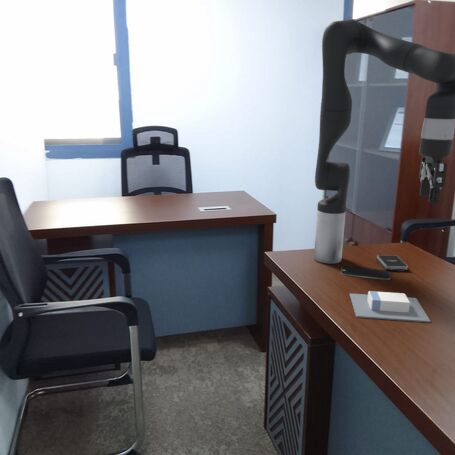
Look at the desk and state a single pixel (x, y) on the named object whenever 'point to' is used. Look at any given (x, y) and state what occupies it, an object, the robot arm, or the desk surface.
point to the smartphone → (365, 273)
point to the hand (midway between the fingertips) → (428, 199)
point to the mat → (364, 311)
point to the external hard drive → (392, 263)
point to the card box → (388, 301)
